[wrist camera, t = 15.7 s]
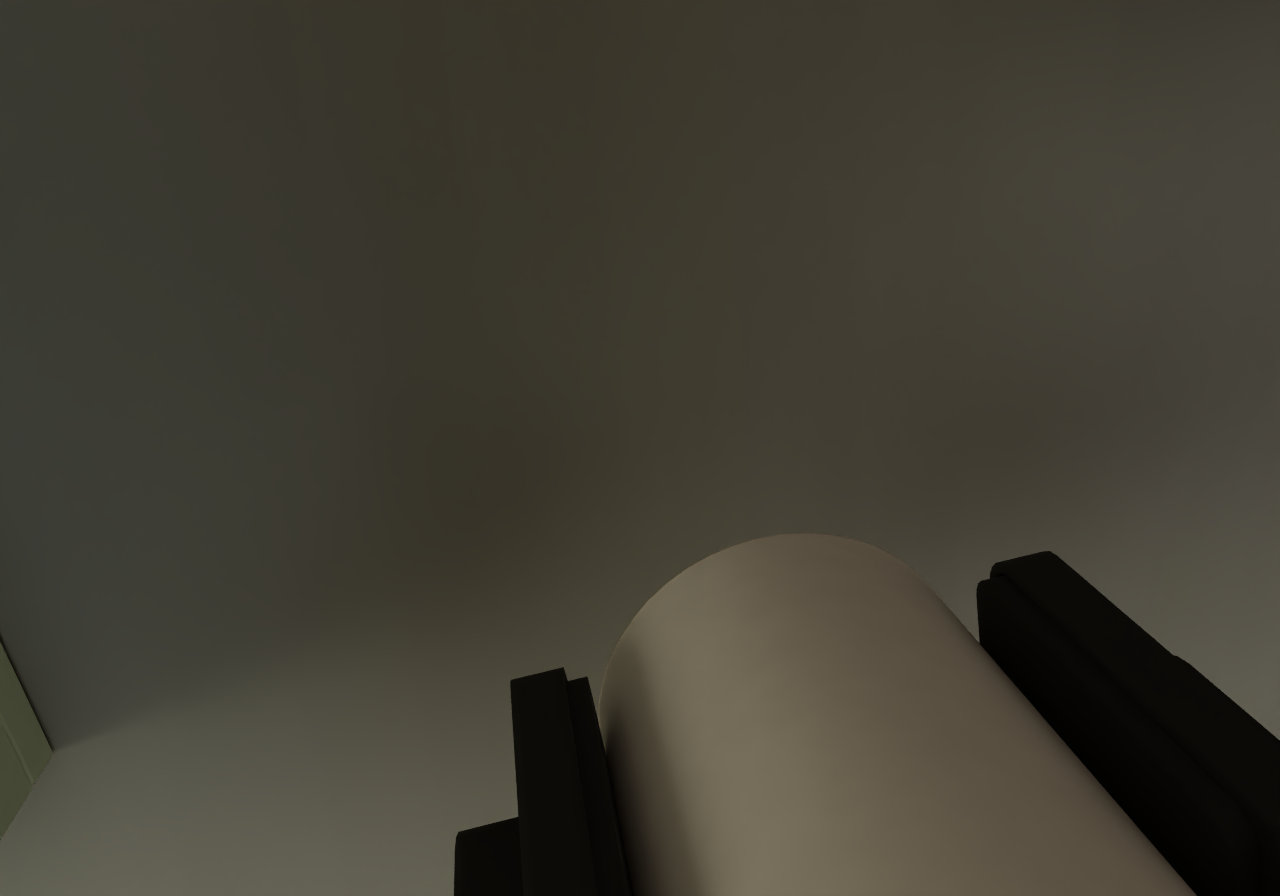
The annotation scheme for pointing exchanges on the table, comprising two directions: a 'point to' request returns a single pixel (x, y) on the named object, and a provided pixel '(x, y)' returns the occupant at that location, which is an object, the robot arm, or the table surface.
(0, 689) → the olive green lidded box
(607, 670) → the off-white cylinder
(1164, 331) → the table surface
